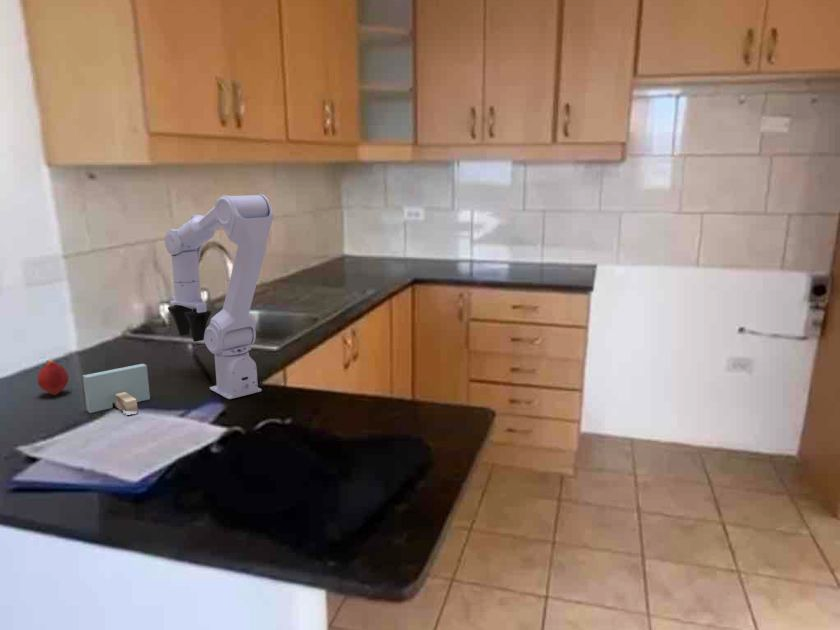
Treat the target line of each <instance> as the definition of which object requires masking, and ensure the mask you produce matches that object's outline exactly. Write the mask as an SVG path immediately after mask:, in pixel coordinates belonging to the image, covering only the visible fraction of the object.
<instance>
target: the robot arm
mask: <svg viewBox="0 0 840 630" xmlns="http://www.w3.org/2000/svg"><path fill="white" fill-rule="evenodd" d="M190 216H191V215H190ZM274 216H275V213H274V211H273V208H272V205H271V203H270V201H269V199H268V197H267V196H265V195H264V194H260V193H259V194H258V193H257V194H256V195H255V194H253V195H226V194H224V195H221V196H220V197H219V198H217V199H216V200H215V202H214V206H213V207H212V208H211V209H210V210H209V211H207V213H206V214H205V215H201V214H193V215H192V216H191V217H190V219H189V221H187V222H186V223H182V224H181V226H180V227H179V228H177V229H175V228H169V229H168V230H167V231H166V233H165V235H164V246H165V249H166V250H167V253H169V255H171V256H170V257H171V265H172V266H171V268H172V278H173V290H174V291H173V292H174V295H171V300H170V301H169V303H170V305H171V306H168V307H167V309H168V311H169V312H170V314H171V316H172V318H173V320H174V323H175V325H176V329H177V331H178V334H179V336H186V335H191V337H192V341H193V342H195V343H196V342H201V341H204V343H205V346H206V348H207V349H208V350H209V352H211V354H213V355H214V364H215V365H214V366H215V377H216V378H215V379H216V380H215V381H216V384H215V385H212V386H210V387H209V390H211V391H213V392H214V393H216V394H218V395H220V396H222V397H223V398H225V399H227V400H232V399H236V398H240V397H241V398H242V397H244V396H247V395H248V396H249V395H252V394H256V393H260V392H262V390H263V389H262V388H260V387H259V386H258V385H259V384H258V370H257V369H258V366H257V363H256V361H255V360H254V359H253V358H252V357H251V356H250V352H249V351H250V350H252V346H253V345H254V343H255V342H256V337H257V331H256V326H257V324H258V322H257V321H256V318H255V317H254V316H253V315H252V314H251V313H250V311H251V307H252V303H253V299H254V297H255V296H254V295H255V291H256V287H257V285H258V280H259V277H260V273H261V269H262V265H263V261H264V258H265V253H266V251H267V246H268V237H269V234H270V230H271V226H272V222H273V220H274ZM220 227H222V229H223V231H224V233H225V234H226V236H227V238H228V239H229V241H230V243H233V244H235V245H237V250H236V253H235V257H234V262H233V266H232V269H231V274H230V277H229V278H230V279H229V282H228V285H227V290H226V294H225V298H224V303H223V307H222V309H221V310H220V311H219V312H217V313H215V315H214V316H212V317H211V318H210V316H211V314H212V311H211V310H208V309H207V303H206V302H204V300H203V298H202V295H201V294H202V293H201V291H202V289H201V280H200V267H199V261H200V259H201V251H202V248H203V245H204V244H205V243H206V242H208V241H209V240H211V239H212V238H213V237H215V234H216V229H218V228H220ZM209 318H210V321H209V324H208V326H207V323H208V320H209ZM190 333H191V334H190Z"/></svg>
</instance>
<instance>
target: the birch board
mask: <svg viewBox="0 0 840 630" xmlns="http://www.w3.org/2000/svg"><path fill="white" fill-rule="evenodd" d="M115 398H116V402H115V403H112V405H113V407H115V408H116V409H117V408H119V409H122V410H125V411H139V409H138V402H137V400H136V399H135V398H133V397H132V396H131V395H129V394H128V393H126V392H122V393H118V394H115ZM119 409H118V410H119Z"/></svg>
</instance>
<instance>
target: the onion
mask: <svg viewBox="0 0 840 630" xmlns="http://www.w3.org/2000/svg"><path fill="white" fill-rule="evenodd" d="M68 383H69V374H68V371H67V370H66V368H64V366H62V365H60V364H59V363H57V362H55V361H53V360H52V359H48V360H47V361H46V365H44V366H43V367H42V368H41V369H40V370H39V372H38V375H37V384H38V386H39V387H40V389H41V390H44V391H45V392H47V393H49V394H50V395H52V396H57V395H58V394H59V393H61V392H62V391H63V390H64V389H65V388H66V386H67V385H68Z"/></svg>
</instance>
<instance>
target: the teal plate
mask: <svg viewBox="0 0 840 630" xmlns="http://www.w3.org/2000/svg"><path fill="white" fill-rule="evenodd" d="M82 381H83V389H84V398H85V407H86V411H87V412H88V413H89V414H91V413H96V412H100V411H105V410H108V409H110V410H111V409H113V407H114V406H113V405H112V403H115V402H116V398H115V394H118V393H122V392H126V393H128V394H129V395H131V396H132V397H133V398H135V399H136V400H137V403H139V402H142V401H143V402H144V401H148V400H150V399H151V395H150V385H149V384H150V383H149V375H148V366H147V364H145V363H139V364H134V365H128V366H124V367H119V368H113V369H109V370H104V371H99V372H93V373H88V374H83V375H82Z"/></svg>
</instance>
